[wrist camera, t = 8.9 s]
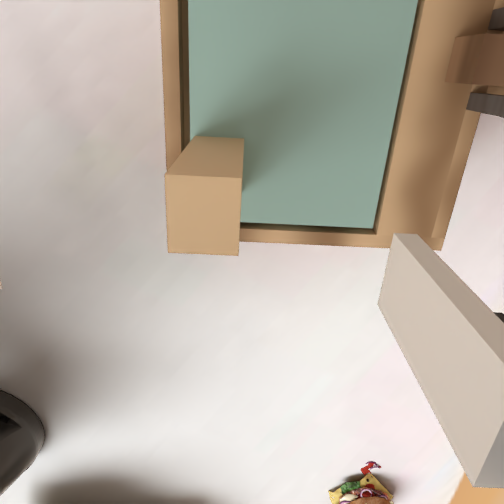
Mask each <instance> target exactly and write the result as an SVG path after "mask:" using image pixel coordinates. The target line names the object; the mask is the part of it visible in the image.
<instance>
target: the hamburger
mask: <svg viewBox="0 0 504 504" xmlns="http://www.w3.org/2000/svg"><path fill="white" fill-rule="evenodd" d="M366 464H369V465H368V466H365V467H364V468H361V471H362V473H363V474H364V475H366V474H367V473H370V474H367V475H366V476H365V477H364V478H363V479H362V480H361V481H359V482H357V481H356V482H354V481H353V482H346V483H345V484H343V485H342V486H341V487H340V488H339V489H337V490H336V491H335V492H330V491H329V495H330V500H331V502H332V504H394V502H392V501H391V499H392V498H393V496H392V495H391V494H390V493H389V492H388V490H387V489H386V488H385V487H383V486H382V485H381V484H380V482H379V481H378V480H377V479H376V478H375V477H374V476H373V475H372V474H371V472H370V470H368V469H369V468H370V469H372V468H375V467H378V468H381V466H379V465H378V466H377V464H376V462H367V463H366ZM373 464H375V465H376V466H375V467H372V466H373ZM371 476H372V477H373V478H372V477H371ZM366 479H369V482H367V481H366ZM331 494H332V495H331ZM332 496H333V497H335V498H334V499H333V498H332Z"/></svg>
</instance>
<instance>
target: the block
mask: <svg viewBox="0 0 504 504" xmlns="http://www.w3.org/2000/svg"><path fill="white" fill-rule="evenodd" d="M445 82H449V83H462V84H475V85H492V86H504V34H489V33H484V34H477V35H470V36H463V37H455V41H454V46H453V50H452V54H451V58H450V62H449V66H448V70H447V74H446V79H445Z"/></svg>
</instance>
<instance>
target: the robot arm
mask: <svg viewBox="0 0 504 504" xmlns="http://www.w3.org/2000/svg"><path fill="white" fill-rule="evenodd" d="M0 289H2V284H1V280H0ZM378 307H379V308H380V310H381V312H382V314H383V316H384V318H385V320H386V322H387V324H388V326H389V328H390V329H391V331H392V333H393V335H394V337H395V339H396V341H397V343H398V345H399V347H400V349H401V351H402V352H403V354H404V356H405V358H406V360H407V362H408V364H409V366H410V368H411V370H412V372H413V373H414V375H415V377H416V379H417V381H418V383H419V385H420V387H421V389H422V391H423V393H424V394H425V396H426V398H427V400H428V402H429V404H430V406H431V408H432V410H433V412H434V414H435V416H436V417H437V419H438V421H439V423H440V425H441V427H442V429H443V431H444V433H445V435H446V437H447V438H448V440H449V442H450V444H451V446H452V448H453V450H454V452H455V454H456V456H457V458H458V460H459V461H460V463H461V465H462V467H463V469H464V471H465V473H466V475H467V477H468V479H469V481H470V482H471V484H472V486H473V487H488V488H504V314H502V313H495V312H492V310H491V309H490V308H489V307H488V306H487V305H486V304H485V303H484V302H483V301H482V300H481V299H480V298H479V297H478V296H477V295H476V294H475V293H474V292H473V291H472V290H471V289H470V288H469V287H468V286H467V285H466V284H465V283H464V282H463V281H462V280H461V279H460V278H459V277H458V276H457V275H456V274H455V272H454V271H453V270H452V269H451V268H450V267H449V266H448V265H447V264H446V263H445V262H444V261H443V260H442V259H441V258H440V257H439V256H438V255H437V254H436V253H435V252H434V251H433V250H432V249H431V248H430V247H429V246H428V245H427V244H426V243H425V242H424V241H423V240H422V239H421V238H420V237H419V236H418V235H417V234H404V233H394V234H393V239H392V243H391V247H390V252H389V256H388V261H387V265H386V269H385V274H384V278H383V283H382V287H381V291H380V296H379V300H378ZM44 436H45V435H44V429H43V426H42V423H41V421H40V420H39V418H38V417H37V415H36V414H35V413H34V412H33V411H32V410H31V409H30V408H29V407H28V406H27V405H26V404H24V403H23V402H22V401H20V400H18V399H17V398H15V397H13V396H11V395H9V394H7V393H5V392H2V391H0V496H1V495H2V494H3V493H4V492H5V491H6V490H7V489H8V488H9V487H10V486H11V485H12V484H13V483H14V481H15V480H16V479H17V478H18V477H19V476H20V475H21V474H22V473H23V472H24V471H25V470H27V469H28V468H29V467H30V466H31V465H32V463H33V462H34V460H35V459H36V457H37V455H38V453H39V451H40V450H41V448H42V446H43V443H44Z"/></svg>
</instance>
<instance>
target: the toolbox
mask: <svg viewBox="0 0 504 504" xmlns="http://www.w3.org/2000/svg"><path fill="white" fill-rule="evenodd" d="M160 18H161V43H162V68H163V92H164V117H165V142H166V166H167V171H168V169H169V168H170V167H171V166H172V164H173V163H174V162H175V160H176V159H177V158H178V157H179V155H180V154H181V153H182V151H183V150H184V149H185V148H186V146H187V145H188V144H189V143H190V93H189V23H188V0H160ZM484 33H489V34H504V0H418V3H417V8H416V13H415V18H414V23H413V28H412V34H411V39H410V44H409V49H408V54H407V59H406V64H405V69H404V74H403V79H402V84H401V89H400V94H399V99H398V104H397V109H396V114H395V119H394V124H393V129H392V134H391V139H390V144H389V149H388V154H387V159H386V164H385V169H384V174H383V179H382V184H381V189H380V194H379V199H378V204H377V209H376V214H375V219H374V224H373V228H355V227H334V226H313V225H292V224H271V223H249V222H240V235H239V241H243V242H265V243H287V244H309V245H331V246H352V247H374V248H390V247H391V243H392V239H393V234H394V233H404V234H417V235H418V236H419V237H420V238H421V239H422V240H423V241H424V242H425V243H426V244H427V245H428V246H429V247H430V248H431V249H432V250H440V251H441V249H442V246H443V242H444V239H445V235H446V232H447V228H448V225H449V221H450V218H451V215H452V211H453V208H454V204H455V201H456V197H457V194H458V190H459V187H460V183H461V180H462V176H463V173H464V169H465V166H466V162H467V159H468V155H469V152H470V149H471V145H472V142H473V138H474V135H475V131H476V128H477V124H478V121H479V117H480V114H481V113H486V114H491V115H496V116H500V117H503V118H504V86H492V85H475V84H462V83H449V82H445V79H446V74H447V70H448V66H449V62H450V58H451V54H452V50H453V46H454V41H455V37H463V36H470V35H477V34H484Z"/></svg>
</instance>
